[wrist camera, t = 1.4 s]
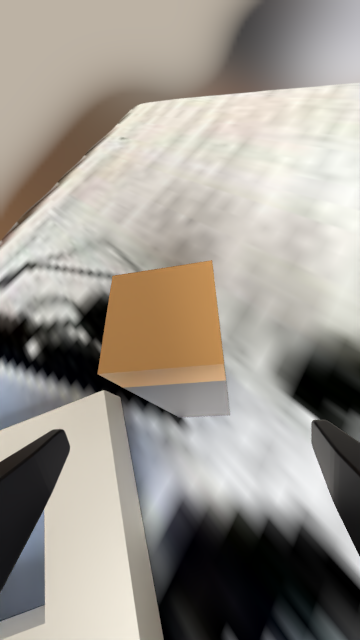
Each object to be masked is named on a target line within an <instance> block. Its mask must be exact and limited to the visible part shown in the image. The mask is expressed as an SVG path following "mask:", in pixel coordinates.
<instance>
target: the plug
mask: <svg viewBox="0 0 360 640" xmlns="http://www.w3.org/2000/svg"><path fill="white" fill-rule="evenodd" d="M98 375H100V376H102V377H104V378H106V379H108V380H110V381H112V382H114V383H115V384H117V385H119V386H121V387H123V388H125V389H127V390H129V391H131V392H132V393H134V394H136V395H138V396H140V397H142V398H144V399H146V400H148V401H149V402H151V403H153V404H155V405H157V406H159V407H161V408H163V409H165V410H166V411H168V412H170V413H172V414H174V415H176V416H178V417H200V416H222V415H230V410H229V401H228V392H227V384H226V375H225V367H224V358H223V350H222V341H221V333H220V324H219V316H218V307H217V299H216V290H215V282H214V273H213V265H212V260H211V261H205V262H199V263H192V264H186V265H180V266H173V267H167V268H160V269H154V270H148V271H141V272H135V273H128V274H122V275H116V276H112V283H111V289H110V296H109V302H108V309H107V315H106V322H105V329H104V335H103V342H102V348H101V355H100V361H99V368H98Z"/></svg>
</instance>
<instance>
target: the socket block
mask: <svg viewBox="0 0 360 640" xmlns="http://www.w3.org/2000/svg"><path fill="white" fill-rule="evenodd" d="M53 429H63V430H64V431H65V433H66V435H67V438H68V441H69V444H70V452H69V455H68V457H67V459H66V462H65V464H64V466H63V469H62V471H61V473H60V476H59V478H58V481H57V483H56V485H55V488H54V490H53V492H52V494H51V496H50V498H49V500H48V502H47V504H46V506H45V508H44V525H45V605H43V606H40V607H38V608H35V609H32V610H30V611H27V612H24V613H22V614H19V615H16V616H14V617H11V618H8V619H6V620H3V621H0V640H164V638H163V633H162V627H161V622H160V616H159V610H158V605H157V599H156V594H155V588H154V583H153V577H152V571H151V566H150V560H149V555H148V549H147V543H146V538H145V532H144V527H143V521H142V516H141V510H140V504H139V499H138V493H137V488H136V482H135V476H134V471H133V465H132V460H131V454H130V449H129V443H128V437H127V432H126V426H125V421H124V415H123V409H122V404H121V398H120V397H119V396H116V395H114V394H112V393H110V392H107V391H105V390H103V391H100V392H97V393H95V394H92V395H90V396H87V397H85V398H82V399H79V400H77V401H74V402H72V403H69V404H67V405H64V406H61V407H59V408H56V409H54V410H51V411H49V412H46V413H43V414H41V415H38V416H36V417H33V418H31V419H28V420H25V421H23V422H20V423H18V424H15V425H13V426H10V427H7V428H5V429H2V430H0V462H1V461H2V460H4V459H6V458H7V457H9V456H11V455H12V454H14V453H15V452H17V451H19V450H20V449H22V448H23V447H25V446H27V445H28V444H30V443H32V442H33V441H35V440H36V439H38V438H40V437H41V436H43V435H44V434H46V433H48V432H49V431H51V430H53Z"/></svg>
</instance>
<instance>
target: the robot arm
mask: <svg viewBox="0 0 360 640" xmlns="http://www.w3.org/2000/svg"><path fill="white" fill-rule="evenodd" d="M312 446H313V449H314V452H315V455H316V457H317V460H318V463H319V465H320V468H321V471H322V473H323V476H324V479H325V481H326V484H327V487H328V489H329V492H330V495H331V497H332V500H333V502H334V504H335V506H336V509H337V511H338V513H339V515H340V517H341V519H342V521H343V523H344V525H345V527H346V529H347V531H348V533H349V535H350V537H351V540H352V542H353V544H354V546H355V548H356V550H357V552H358V554H359V556H360V442H358V441H357V440H355V439H354V438H352V437H351V436H349V435H348V434H347V433H345V432H344V431H342V430H341V429H339V428H338V427H336V426H335V425H333V424H332V423H330V422H329V421H327V420H313V421H312ZM69 452H70V444H69V441H68V438H67V435H66V433H65V431H64V430H63V429H53V430H51V431H49V432H48V433H46V434H44V435H43V436H41V437H40V438H38V439H36V440H35V441H33V442H32V443H30V444H28V445H27V446H25V447H23V448H22V449H20V450H19V451H17V452H15V453H14V454H12V455H11V456H9V457H7V458H6V459H4V460H2V461H1V462H0V593H1V591H2V589H3V587H4V585H5V583H6V581H7V579H8V577H9V575H10V574H11V572H12V570H13V568H14V566H15V564H16V562H17V560H18V558H19V556H20V554H21V552H22V550H23V549H24V547H25V545H26V543H27V541H28V539H29V537H30V535H31V533H32V531H33V529H34V527H35V526H36V524H37V522H38V520H39V518H40V516H41V514H42V512H43V510H44V508H45V506H46V504H47V502H48V500H49V498H50V496H51V494H52V492H53V490H54V488H55V485H56V483H57V481H58V478H59V476H60V473H61V471H62V469H63V466H64V464H65V462H66V459H67V457H68V455H69Z"/></svg>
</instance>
